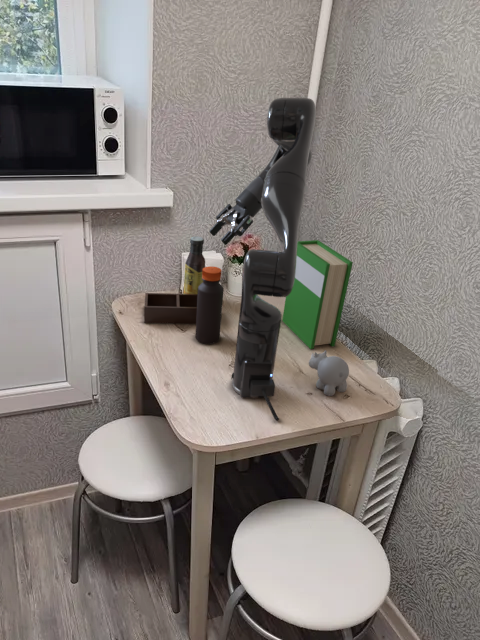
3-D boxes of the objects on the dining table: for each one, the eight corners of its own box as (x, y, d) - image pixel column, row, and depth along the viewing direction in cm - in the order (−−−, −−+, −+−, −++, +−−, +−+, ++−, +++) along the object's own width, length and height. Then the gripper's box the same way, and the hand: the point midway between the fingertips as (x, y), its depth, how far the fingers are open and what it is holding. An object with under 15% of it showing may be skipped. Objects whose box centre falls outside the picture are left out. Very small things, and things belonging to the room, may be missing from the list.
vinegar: (206, 347, 140) (211, 276, 130) (190, 337, 145) (193, 268, 134) (224, 340, 144) (230, 270, 133) (208, 330, 148) (212, 263, 138)
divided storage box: (211, 324, 152) (212, 308, 149) (144, 323, 151) (144, 307, 148) (208, 309, 160) (209, 294, 158) (145, 308, 159) (145, 292, 157)
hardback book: (334, 346, 144) (352, 262, 131) (310, 349, 142) (326, 264, 129) (304, 318, 158) (318, 240, 145) (282, 320, 156) (294, 241, 143)
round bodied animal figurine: (321, 369, 134) (327, 339, 129) (350, 393, 124) (358, 363, 120) (297, 374, 131) (302, 344, 126) (325, 399, 122) (332, 368, 117)
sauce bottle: (180, 296, 167) (182, 235, 157) (197, 294, 170) (201, 233, 159) (188, 305, 162) (191, 242, 152) (206, 302, 165) (210, 240, 154)
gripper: (236, 182, 159) (200, 223, 161) (259, 194, 148) (219, 237, 150) (250, 199, 163) (214, 239, 166) (273, 212, 153) (234, 253, 155)
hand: (217, 238), depth 158 cm, fingers open, 8 cm apart
